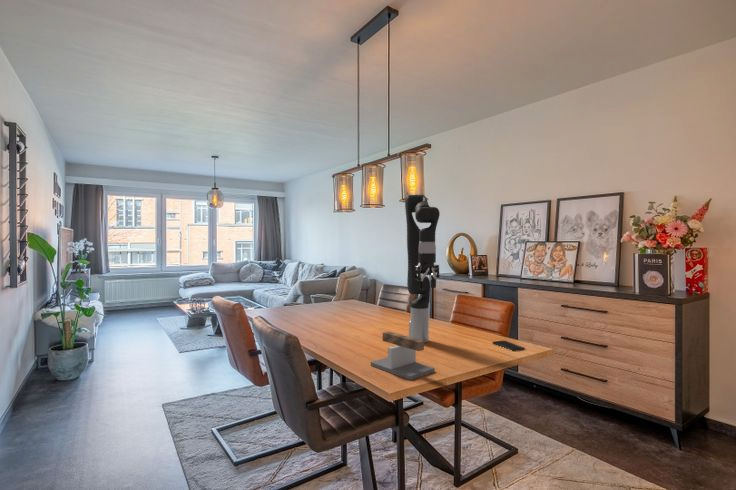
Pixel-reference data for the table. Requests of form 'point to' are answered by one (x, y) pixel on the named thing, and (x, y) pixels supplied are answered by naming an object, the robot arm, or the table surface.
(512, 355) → the table surface
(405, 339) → the walnut bar
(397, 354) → the stand
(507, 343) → the phone
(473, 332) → the table surface
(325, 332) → the table surface
